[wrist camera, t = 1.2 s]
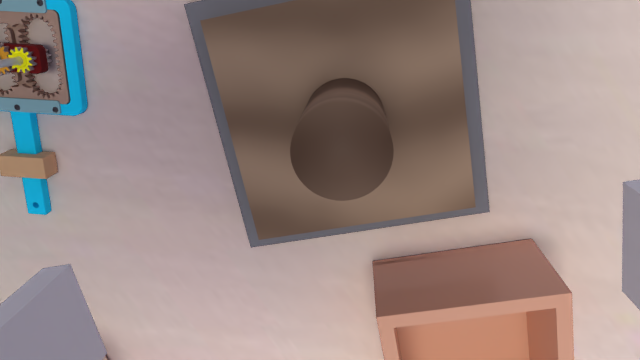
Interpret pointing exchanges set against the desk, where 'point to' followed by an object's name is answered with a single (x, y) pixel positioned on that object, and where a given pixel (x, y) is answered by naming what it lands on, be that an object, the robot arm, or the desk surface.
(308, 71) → the walnut lid
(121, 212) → the desk surface
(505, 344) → the square bowl
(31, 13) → the gear mechanism
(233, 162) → the rubber mat
